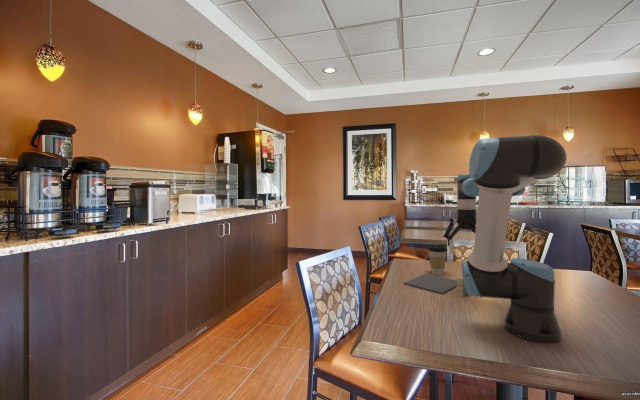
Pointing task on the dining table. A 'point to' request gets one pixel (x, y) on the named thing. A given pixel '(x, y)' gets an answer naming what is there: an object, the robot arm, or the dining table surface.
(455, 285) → the mat
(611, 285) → the dining table surface
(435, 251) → the coffee cup
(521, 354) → the dining table surface
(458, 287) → the tan and green block
